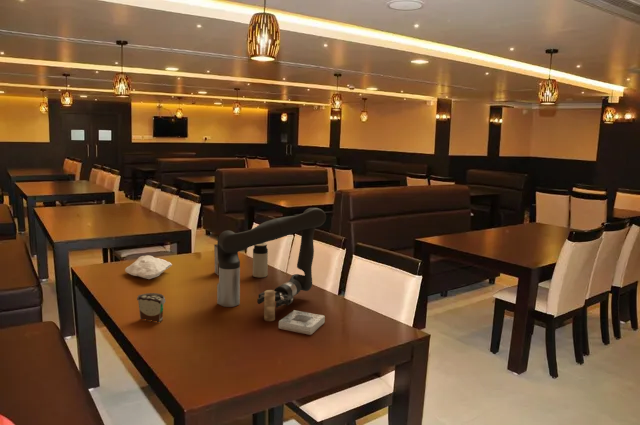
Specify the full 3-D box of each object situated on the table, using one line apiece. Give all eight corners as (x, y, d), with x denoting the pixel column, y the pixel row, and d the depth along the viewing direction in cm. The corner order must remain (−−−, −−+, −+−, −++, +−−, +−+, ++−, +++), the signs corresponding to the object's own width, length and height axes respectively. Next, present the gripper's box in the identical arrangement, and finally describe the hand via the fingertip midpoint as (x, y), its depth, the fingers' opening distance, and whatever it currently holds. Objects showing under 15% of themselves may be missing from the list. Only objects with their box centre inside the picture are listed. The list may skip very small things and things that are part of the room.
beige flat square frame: (278, 328, 190) (278, 321, 189) (294, 316, 203) (294, 310, 202) (310, 334, 185) (310, 327, 184) (324, 322, 197) (324, 315, 197)
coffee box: (230, 270, 269) (230, 242, 266) (233, 273, 263) (233, 245, 261) (214, 272, 265) (214, 244, 262) (217, 275, 259) (217, 246, 256)
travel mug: (264, 278, 256) (265, 245, 253) (250, 277, 258) (250, 244, 255) (269, 274, 264) (269, 242, 261) (255, 273, 265) (255, 241, 263)
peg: (262, 320, 198) (262, 292, 196) (267, 316, 202) (267, 289, 200) (271, 321, 196) (272, 293, 195) (276, 318, 200) (277, 290, 199)
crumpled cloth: (166, 262, 277) (163, 247, 275) (181, 278, 247) (178, 261, 245) (123, 273, 266) (120, 257, 264) (134, 290, 236) (130, 273, 234)
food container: (172, 318, 197) (171, 295, 195) (162, 323, 191) (162, 299, 190) (147, 313, 201) (146, 291, 199) (137, 318, 195) (136, 295, 194)
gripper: (271, 281, 213) (252, 291, 198) (300, 286, 208) (283, 297, 193) (271, 297, 214) (252, 309, 200) (299, 302, 209) (282, 314, 194)
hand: (267, 303), depth 196 cm, fingers open, 8 cm apart
